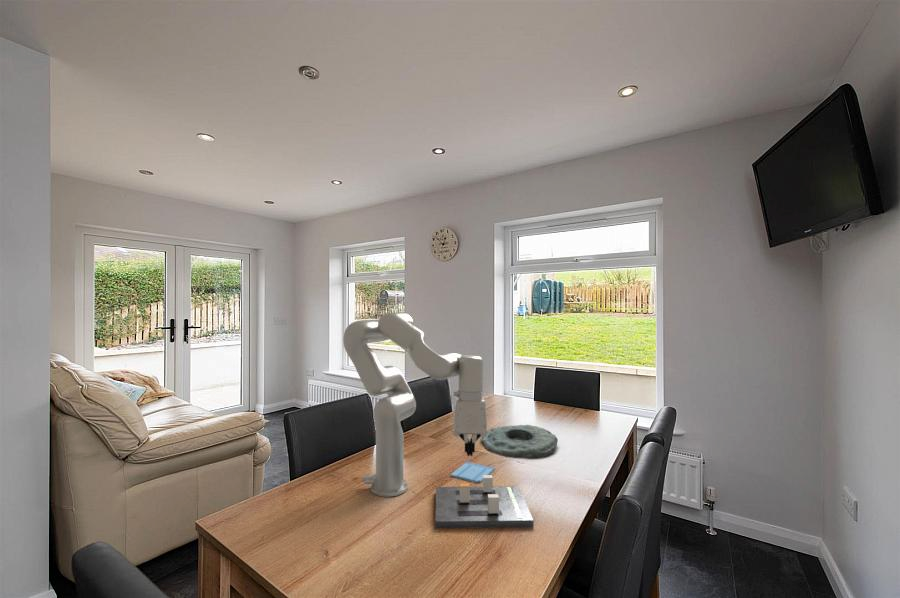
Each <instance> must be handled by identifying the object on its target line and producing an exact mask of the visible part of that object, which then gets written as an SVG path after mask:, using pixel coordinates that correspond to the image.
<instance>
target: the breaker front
mask: <svg viewBox="0 0 900 598" xmlns="http://www.w3.org/2000/svg"><path fill="white" fill-rule="evenodd" d="M488 513H499V496H498V494H488Z"/></svg>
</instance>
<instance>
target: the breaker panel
mask: <svg viewBox="0 0 900 598" xmlns="http://www.w3.org/2000/svg"><path fill="white" fill-rule="evenodd" d="M488 494H498V496H499V513H488ZM490 528H491V529H493V528H494V529H497V528H498V529H499V528H502V529H503V528H504V529H506V528H510V529H511V528H534V518H533V515H532V514H531V512H530V509H529V507H528V504H527V502H526V501H525V498H524V496H523V493H522V491H521V489H520V486H519V485H515V486H514V485H509V486H507V485H505V486H503V485H502V486H498V485H497V486H496V485H495V486H494V485H493V492H483V486H470V502H460V486H436V487H435V529H436V530H437V529H438V530H439V529H440V530H441V529H490Z"/></svg>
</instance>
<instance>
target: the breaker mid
mask: <svg viewBox="0 0 900 598" xmlns="http://www.w3.org/2000/svg"><path fill="white" fill-rule="evenodd" d="M459 487H460V502H470V487H471V486H470V483H466V482H465V483H459Z"/></svg>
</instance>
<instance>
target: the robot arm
mask: <svg viewBox="0 0 900 598" xmlns="http://www.w3.org/2000/svg"><path fill="white" fill-rule="evenodd" d="M414 323H415V322H414V321H413V318H412V316H410V314H408V313H406V312H397V311H396V312H387V313H385V314H383V315H381V316H380V318H378V319H362V320H361V319H360V320H356V321H353V322H351V323H350V324H348V325H347V327H346V328H345V330H344V332H343V336H342V337H343V339H342V340H343V341H342V342H343V347H344V350H345V352H346V354H347V356H348V357H349V359H350V361H351V362H352V364H353V366H354V367H355V369H356V372H357V374H358V376H359V379H360V380H361V383H362V384H363V387H364V389H365V391H366V393H368V395H370V396H372V397H379V396H383V395H385V394H387V396H385V397H383V398H381V399H379V400H378V401H377V402H376V403H375V405H374V407H373V411H372V413H373V420H374V421H373V422H374V426H375V427H374V428H375V429H374V430H375V474H372V475H363V476H362V482H364V484H365V485H371V486H370V491H371V493H373V494H374V495H376V496H378V497H385V498H389V497H396V496H399V495H402V494H404V493H405V492H407V490H408V488H409V483H408V482H407V480H405V479H404V462H405V461H404V445H405V444H404V442H405V440H404V439H405V437H404V431H403V428H402V425H401V421H403V420H406V419H407V418H409V417H411V416H413V414H414V413H415V411H416V409H417V401H416V399H415V396H414V394H413V392H412V389H411V387H410V386H409V383H408V382H407V380H406V378H405V376H404V373H402V372H401V370H400V369H399V368H397V367H396V366H393V365H386V366H383V365H382V363H381V362H380V360H379V358H378V356H377V354H376V353H375V351H374V350H373V349H372V348H370V347H369V345H368V344H372V343H380V342H385V341H388V340H390V341H391V342H392V343H394V344H396V345H397V346H399V347H400V348H402V350H404V351H405V352H407V354H408V355H409V358H410V360H411V361H412V362H413V364H414V365H415V366H416V367H417V368H418V369H419V370H421V371H422V372H423V373H425V374H426V375H428V376H429V377H431V378H432V379H435V380H437V381H444V380H448V379H450V378H453V377H456V376H458V390H457V391H454V392H453V397H456V400H455V405H454V415H453V431H452V435H453V436H454V437H457V438H461V440H462V441H464V453H466V455H467V457H469V456H470V457H473V456H474V455H473V454H474V453H475V452H476V451H475V450H476V448H475V446H476V442H477V441H478V440H479V439H480V438H482V437H483V436H486V435H487V431H488V417H487V405H486V404H487V403H486V401H485V399H484V398H483V393H484V392H483V390H484V389H483V388H484V387H483V384H484V380H483V379H484V359H483V358H482V357H481V356H478V355H474V354H473V355H469V354H468V355H465V354H462V353H461V354H460V353H457V352H449V353H444V354H439V353H438V352H435V351H434V349H431V348H430V347H429V346H428V345H427V344H426V343H425V342H424V341H425V337H426V336H425V333H424V331H423V330H421V329H419V328H418V327H416V326H415V324H414ZM468 435H471V437H470V439H469V437H468Z"/></svg>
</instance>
